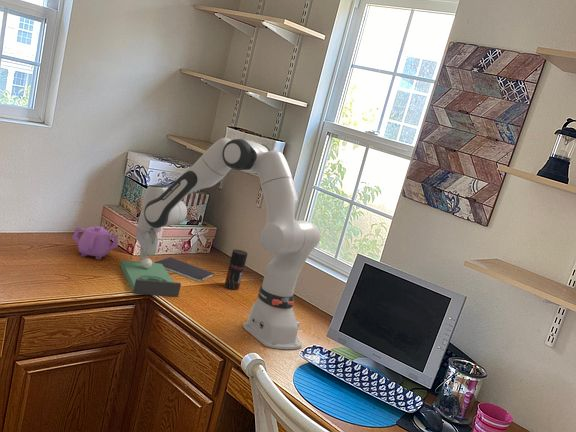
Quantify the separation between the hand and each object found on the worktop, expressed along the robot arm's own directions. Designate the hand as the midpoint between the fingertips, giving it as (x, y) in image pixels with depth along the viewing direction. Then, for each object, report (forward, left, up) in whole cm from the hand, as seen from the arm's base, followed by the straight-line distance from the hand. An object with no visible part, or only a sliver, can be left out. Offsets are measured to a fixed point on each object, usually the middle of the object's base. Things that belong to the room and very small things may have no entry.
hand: (142, 258), depth 233 cm
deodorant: (-13, -34, -4) cm, 37 cm away
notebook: (+2, -18, -5) cm, 19 cm away
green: (-13, 0, -4) cm, 14 cm away
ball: (-7, 0, +1) cm, 7 cm away
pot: (+10, +17, -4) cm, 20 cm away
